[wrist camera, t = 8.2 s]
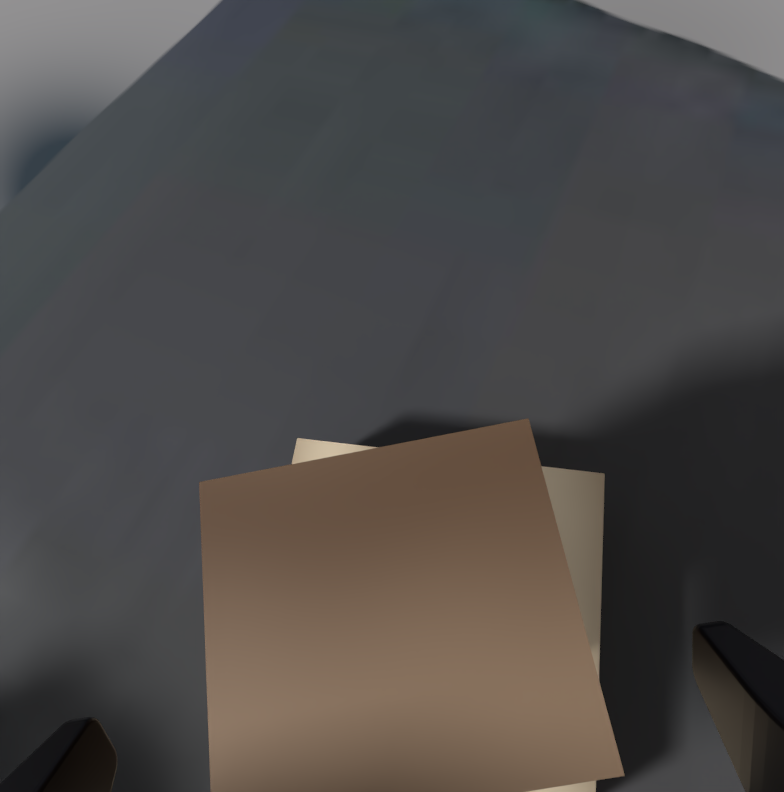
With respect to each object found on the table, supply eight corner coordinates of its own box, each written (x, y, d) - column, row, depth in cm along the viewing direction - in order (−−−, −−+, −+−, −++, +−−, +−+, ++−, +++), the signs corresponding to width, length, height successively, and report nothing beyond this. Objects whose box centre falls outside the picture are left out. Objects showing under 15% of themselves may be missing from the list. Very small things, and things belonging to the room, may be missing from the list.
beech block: (581, 497, 21) (604, 473, 18) (568, 810, 18) (594, 861, 14) (325, 465, 23) (297, 438, 19) (270, 746, 20) (224, 777, 16)
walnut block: (532, 683, 16) (624, 775, 7) (357, 713, 16) (212, 841, 7) (495, 522, 18) (528, 418, 8) (336, 551, 18) (199, 481, 9)
